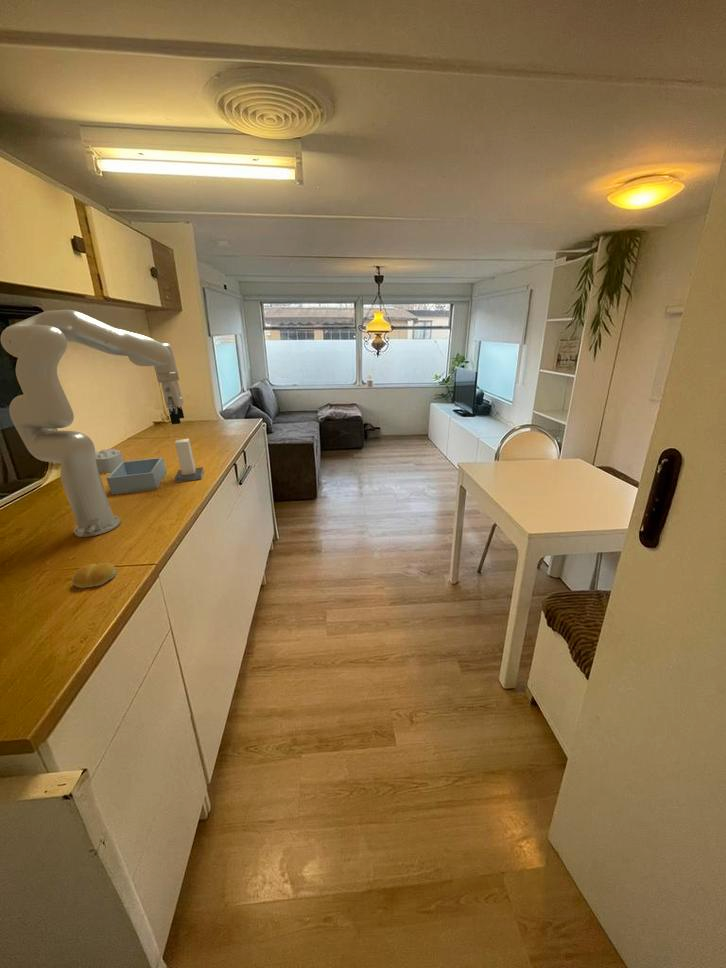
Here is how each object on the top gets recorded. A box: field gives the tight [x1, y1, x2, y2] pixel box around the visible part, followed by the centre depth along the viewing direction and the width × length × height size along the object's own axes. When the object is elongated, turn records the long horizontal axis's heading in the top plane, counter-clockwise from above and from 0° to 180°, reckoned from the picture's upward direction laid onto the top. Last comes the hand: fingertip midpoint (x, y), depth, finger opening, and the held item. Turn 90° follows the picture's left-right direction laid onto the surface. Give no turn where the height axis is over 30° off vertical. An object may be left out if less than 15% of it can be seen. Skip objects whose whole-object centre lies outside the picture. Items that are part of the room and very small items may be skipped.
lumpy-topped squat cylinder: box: [95, 448, 125, 475], centre depth 170 cm, size 10×13×9 cm
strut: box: [174, 438, 197, 475], centre depth 156 cm, size 5×5×14 cm
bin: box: [106, 457, 167, 496], centre depth 154 cm, size 20×16×7 cm
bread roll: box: [71, 562, 117, 589], centre depth 95 cm, size 8×9×4 cm
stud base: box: [174, 467, 205, 483], centre depth 158 cm, size 10×10×7 cm
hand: (178, 421), depth 151 cm, fingers open, 9 cm apart
